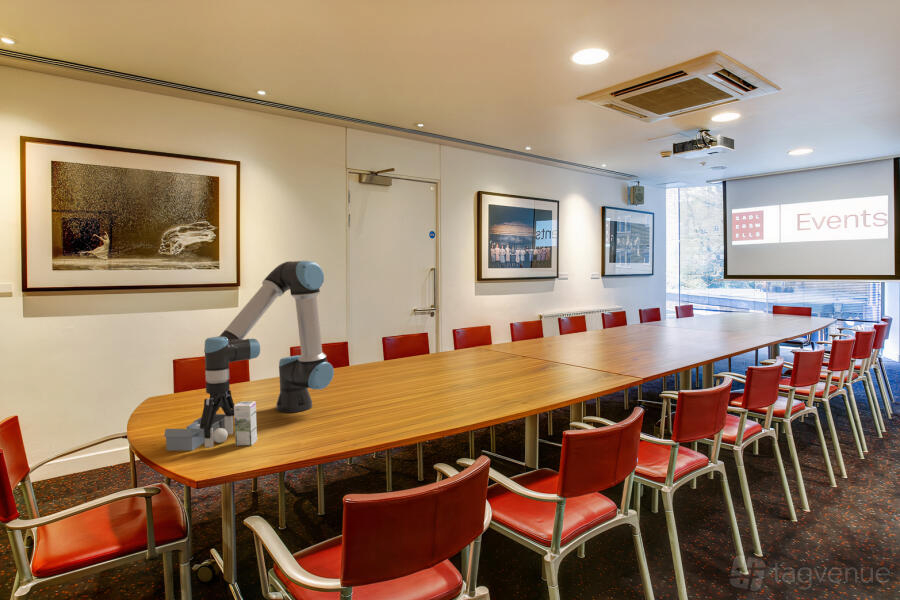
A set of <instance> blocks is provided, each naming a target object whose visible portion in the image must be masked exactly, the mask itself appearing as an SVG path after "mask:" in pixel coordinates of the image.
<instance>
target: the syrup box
mask: <svg viewBox="0 0 900 600" xmlns="http://www.w3.org/2000/svg"><path fill="white" fill-rule="evenodd" d="M233 421H234V439H235V446H236V447H244V446H245V447H246V446H248V447H249V446H253V445H255V443H256V442H257V441H258V433H257V432H258V431H257V429H258V427H257V403H256V401H255V400H253V401H239V402H237V403H234V416H233Z"/></svg>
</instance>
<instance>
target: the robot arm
mask: <svg viewBox="0 0 900 600" xmlns="http://www.w3.org/2000/svg"><path fill="white" fill-rule="evenodd" d="M324 280H325V274H324V270H323V269H322V268H321V266H320V265H319V264H318V263H317V262H315V261H309V260H298V261H297V260H296V261H294V260H293V261H284V262H283V263H280V264H278V265H277V266H276V267H275V268H274V269H272V270H271V272H270V273H268V275H267V276H266V277H265V278H264V279H263V280H262V286H261V287H260V288H259V289H258V290H257V291H256V293H254V295H253V296H252V297H251V298H250V299H249V301H248V302H247V303H246V304H245V305H244V307H243V308H242V309H241V310H240V312H238V314H237V315H236V316H235V318H233V320H232V321H231V322H230V323H229V325H227V327H226V328H225V329H224V330H223V332H222V333H221V334H220V335H219V336H212V337H211V336H210V337H207V338H206V339H205V340H204V349H203V353H204V364H205V367H204V370H205V372H204V374H205V393H206V394H208V395H209V398H205V399H204V401H203V403H204V404H203V409H202V415H201V417H202V418H201V423H200V429H204V439H205V443H204V448H214V446H215V445H214V442H215V441H214V440H213V428H211V427H212V424H213V421H214V418H215V415H216V414H217V412H218V411H219V409H220V408H221V410H222V411H223V414H225V415H226V416H225V417H224V419H225V430H226V431H227V433H228V435H233V434H234V405H235V403H234V399H233V397H232V391H231V390H230V388H231V387H230V381H229V380H230V366H229V365H230V363H233V362H239V361H247V360H252V359H256V358H258V357H259V356H260V354H261V344H260V342H259V340H258V339H255V338H245V337H246V336H247V335H248V333H250V331H252V329H253V328H254V326H255V325H256V323H258V321H260V319H261V318H262V317H263V316H264V314H265V313H266V312H267V311H268V309H269V308H270V307H271V306H272V304H273V303H274V302H275V301H276V299H277V298H278V297H282V296H283V295H284V294H285V293H286V292H287V291H290V296H291V297H293V298H294V301H295V309H296V315H297V316H296V319H297V326H298V338H299V346H300V355H299V354H297V355H292V356H287V357H282V358H280V359H279V361H278V372H279V373H278V374H279V393H278V398H277V401H276V404H275V405H276V406H275V407H276V408H275V409H276V411H277V412H279V413H298V412H299V413H300V412H303V411H307V410H309V409H310V410H311V408H313V400H312V397H311V394H310V392H309V389H311V390H323V389H325V388H327V387H328V386H329V385H330V383H331V382H332V381H333V379H334V376H335V375H334V374H335V371H334V367H333V365H332V364H331V363H330V362H328V358H327V354H325V352H323V347H322V346H323V344H322V337H321V336H322V335H321V325H320V317H319V308H318V299H317V297H318V295H319V294H320V293H321V291H320V288H321V287H323V284H324Z"/></svg>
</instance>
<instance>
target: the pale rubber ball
mask: <svg viewBox="0 0 900 600" xmlns="http://www.w3.org/2000/svg"><path fill="white" fill-rule="evenodd" d="M228 435H229V434H228V433H227V431H226V430H225V429H223V428H218V429H216V430H215V431H214V432H213V441H214V442H215V443H219V444H220V443H223V442H225V441H226V440H227V438H228V437H229V436H228Z"/></svg>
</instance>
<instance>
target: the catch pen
mask: <svg viewBox="0 0 900 600" xmlns="http://www.w3.org/2000/svg"><path fill="white" fill-rule="evenodd" d="M225 416H226V415H225V413H216V415H215V418H214V421H213V424H214V423H216V422H217V421H219V427H220V428H223V429H225V419H224V417H225ZM201 418H202V416H200V417H199V418H196V419H195V420H194V421H193V423H194V422H196V421H198V424H200V423H201Z"/></svg>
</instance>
